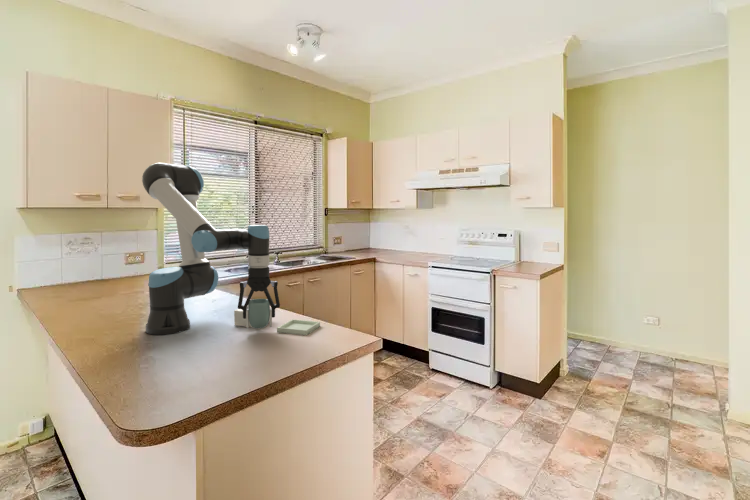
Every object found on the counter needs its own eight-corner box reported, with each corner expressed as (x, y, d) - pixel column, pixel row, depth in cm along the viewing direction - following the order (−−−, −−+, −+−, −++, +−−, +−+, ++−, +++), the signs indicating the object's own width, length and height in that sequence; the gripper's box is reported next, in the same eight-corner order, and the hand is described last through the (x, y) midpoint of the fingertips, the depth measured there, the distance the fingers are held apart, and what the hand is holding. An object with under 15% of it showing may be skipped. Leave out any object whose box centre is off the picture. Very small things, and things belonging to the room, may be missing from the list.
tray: (277, 332, 148) (276, 327, 148) (292, 323, 160) (292, 319, 159) (306, 335, 145) (306, 330, 144) (320, 326, 156) (320, 321, 156)
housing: (234, 325, 157) (234, 310, 156) (249, 318, 166) (248, 305, 166) (256, 327, 154) (256, 312, 153) (270, 320, 163) (269, 306, 163)
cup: (248, 330, 143) (248, 304, 142) (248, 324, 150) (248, 299, 149) (270, 329, 145) (270, 302, 144) (269, 323, 153) (269, 298, 152)
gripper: (228, 268, 139) (229, 330, 142) (287, 267, 144) (287, 327, 147) (230, 265, 147) (231, 324, 149) (287, 264, 151) (287, 322, 154)
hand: (259, 326), depth 148 cm, fingers closed on cup, 8 cm apart
